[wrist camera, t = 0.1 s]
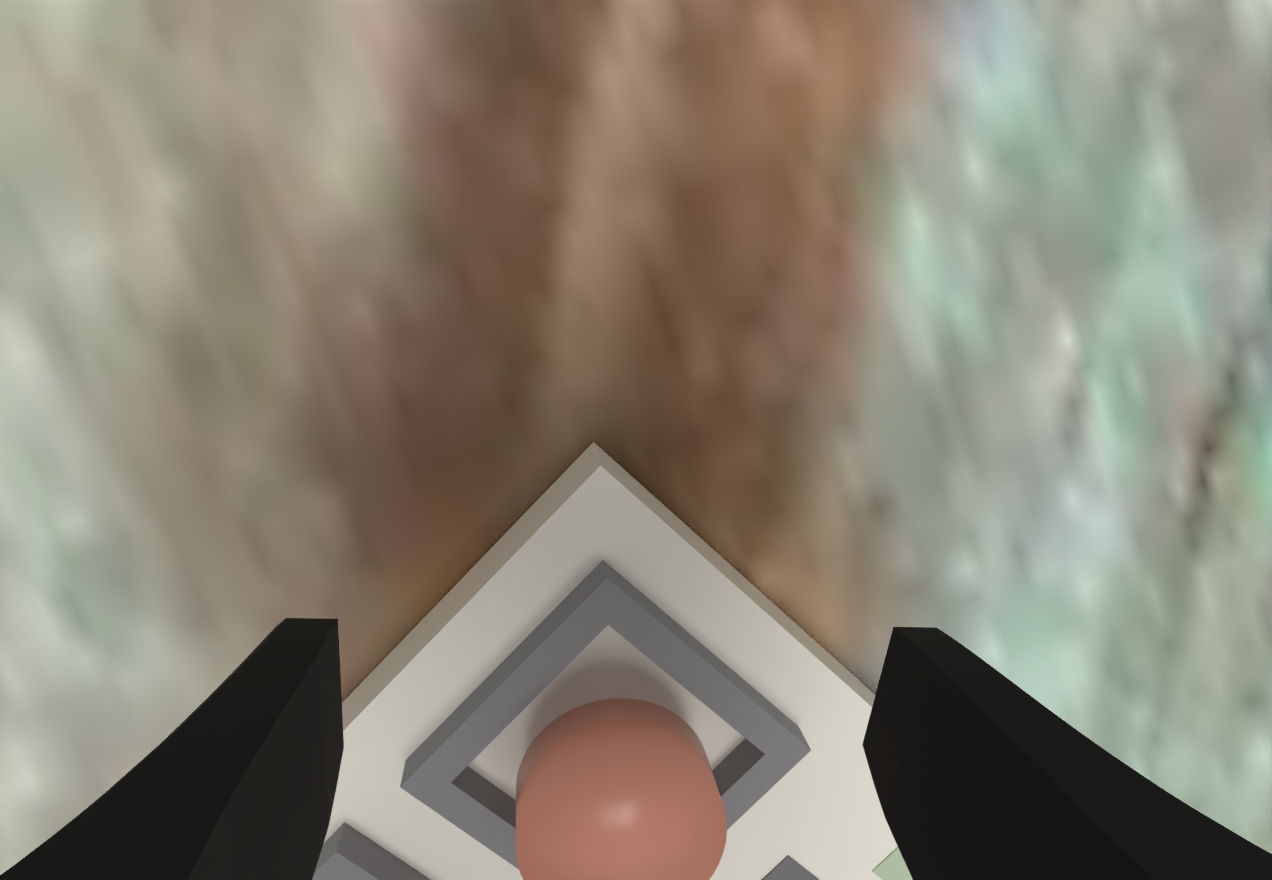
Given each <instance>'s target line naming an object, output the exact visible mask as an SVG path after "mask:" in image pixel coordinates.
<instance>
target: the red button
mask: <svg viewBox="0 0 1272 880" xmlns="http://www.w3.org/2000/svg"><path fill="white" fill-rule="evenodd" d="M726 837H727V819H726V814H725V809H724V805H723V802H722V799H721V796H720V793H719V790H718V787H717V785H716V782H715V779H714V776H713V773H712V770H711V767H710V764H709V761H708V758H707V755H706V752H705V750H704V747H703V744H702V743H701V741H700V739H699V737H698V736H697V734H696V733H695V732H694V730H693V729H692V728H691V727H690V726H689V725H688V724H687V723H686V722H685V721H684V720H683V719H682V718H680V717H679V716H678V715H676V714H675V713H673V712H672V711H670V710H668V709H666V708H664V707H662V706H659V705H657V704H654V703H651V702H647V701H643V700H638V699H628V698H612V699H605V700H598V701H594V702H591V703H587V704H584V705H581V706H579V707H576V708H574V709H572V710H570V711H568V712H566V713H564V714H562V715H561V716H559V717H558V718H556V719H555V720H554V721H552V722H551V723H550V724H549V725H547V726H546V727H545V728H544V729H543V730H542V731H541V732H540V733H539V734H538V735H537V737H536V738H535V739H534V740H533V742H532V743H531V745H530V746H529V747H528V749H527V751H526V753H525V755H524V757H523V759H522V761H521V764H520V767H519V770H518V775H517V781H516V850H515V851H516V858H517V864H518V867H519V871H520V874H521V876H522V878H523V880H709V879H710V878H711V877H712V875H713V874H714V872H715V870H716V868H717V867H718V865H719V862H720V860H721V857H722V855H723V852H724V848H725V844H726Z"/></svg>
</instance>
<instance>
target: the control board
mask: <svg viewBox="0 0 1272 880" xmlns="http://www.w3.org/2000/svg"><path fill="white" fill-rule="evenodd" d="M612 698H628V699H638V700H643V701H647V702H651V703H654V704H657V705H659V706H662V707H664V708H666V709H668V710H670V711H672V712H673V713H675V714H676V715H678V716H679V717H680V718H682V719H683V720H684V721H685V722H686V723H687V724H688V725H689V726H690V727H691V728H692V729H693V730H694V732H695V733H696V734H697V736H698V737H699V739H700V741H701V743H702V744H703V747H704V750H705V752H706V755H707V758H708V761H709V764H710V767H711V770H712V773H713V776H714V779H715V782H716V785H717V787H718V790H719V793H720V796H721V799H722V802H723V805H724V809H725V814H726V819H727V837H726V844H725V848H724V852H723V855H722V857H721V860H720V862H719V865H718V867H717V868H716V870H715V872H714V874H713V875H712V877H711V878H710V879H709V880H913V879H912V877H911V875H910V872H909V870H908V868H907V866H906V864H905V861H904V859H903V857H902V855H901V852H900V850H899V848H898V846H897V844H896V841H895V839H894V837H893V835H892V832H891V830H890V828H889V826H888V823H887V821H886V819H885V816H884V813H883V810H882V807H881V804H880V801H879V798H878V795H877V792H876V789H875V786H874V783H873V779H872V776H871V772H870V769H869V766H868V762H867V759H866V755H865V752H864V748H863V745H862V744H863V740H864V736H865V733H866V729H867V725H868V721H869V718H870V714H871V710H872V706H873V703H874V699H875V694H874V693H873V692H872V691H870V690H869V689H868V688H867V687H866V686H865V685H864V684H863V683H862V682H860V681H859V680H858V679H857V678H856V677H855V676H854V675H853V674H852V673H850V672H849V671H848V670H847V669H846V668H845V667H844V666H843V665H842V664H840V663H839V662H838V661H837V660H836V659H835V658H834V657H833V656H831V655H830V654H829V653H828V652H827V651H826V650H825V649H824V648H823V647H821V646H820V645H819V644H818V643H817V642H816V641H815V640H814V639H813V638H811V637H810V636H809V635H808V634H807V633H806V632H805V631H804V630H803V629H801V628H800V627H799V626H798V625H797V624H796V623H795V622H794V621H793V620H791V619H790V618H789V617H788V616H787V615H786V614H785V613H784V612H782V611H781V610H780V609H779V608H778V607H777V606H776V605H775V604H774V603H772V602H771V601H770V600H769V599H768V598H767V597H766V596H765V595H764V594H762V593H761V592H760V591H759V590H758V589H757V588H756V587H755V586H754V585H752V584H751V583H750V582H749V581H748V580H747V579H746V578H745V577H744V576H742V575H741V574H740V573H739V572H738V571H737V570H736V569H735V568H734V567H732V566H731V565H730V564H729V563H728V562H727V561H726V560H725V559H723V558H722V557H721V556H720V555H719V554H718V553H717V552H716V551H715V550H713V549H712V548H711V547H710V546H709V545H708V544H707V543H706V542H705V541H703V540H702V539H701V538H700V537H699V536H698V535H697V534H696V533H695V532H693V531H692V530H691V529H690V528H689V527H688V526H687V525H686V524H685V523H683V522H682V521H681V520H680V519H679V518H678V517H677V516H676V515H675V514H673V513H672V512H671V511H670V510H669V509H668V508H667V507H666V506H664V505H663V504H662V503H661V502H660V501H659V500H658V499H657V498H656V497H654V496H653V495H652V494H651V493H650V492H649V491H648V490H647V489H646V488H644V487H643V486H642V485H641V484H640V483H639V482H638V481H637V480H636V479H634V478H633V477H632V476H631V475H630V474H629V473H628V472H627V471H626V470H624V469H623V468H622V467H621V466H620V465H619V464H618V463H617V462H615V461H614V460H613V459H612V458H611V457H610V456H609V455H608V454H607V453H605V452H604V451H603V450H602V449H601V448H600V447H599V446H598V445H597V444H595V443H594V442H593V443H592V444H591V445H590V446H589V447H588V448H587V449H586V450H585V451H584V452H583V453H582V454H581V455H580V456H579V457H578V458H577V459H576V460H575V461H574V462H573V464H572V465H571V466H570V467H569V468H568V469H567V470H566V471H565V472H564V473H563V474H562V475H561V476H560V477H559V478H558V479H557V480H556V481H555V482H554V483H553V484H552V485H551V486H550V487H549V488H548V489H547V491H546V492H545V493H544V494H543V495H542V496H541V497H540V498H539V499H538V500H537V501H536V502H535V503H534V504H533V505H532V506H531V507H530V508H529V509H528V510H527V511H526V512H525V513H524V514H523V515H522V516H521V517H520V519H519V520H518V521H517V522H516V523H515V524H514V525H513V526H512V527H511V528H510V529H509V530H508V531H507V532H506V533H505V534H504V535H503V536H502V537H501V538H500V539H499V540H498V541H497V542H496V543H495V544H494V545H493V547H492V548H491V549H490V550H489V551H488V552H487V553H486V554H485V555H484V556H483V557H482V558H481V559H480V560H479V561H478V562H477V563H476V564H475V565H474V566H473V567H472V568H471V569H470V570H469V571H468V572H467V574H466V575H465V576H464V577H463V578H462V579H461V580H460V581H459V582H458V583H457V584H456V585H455V586H454V587H453V588H452V589H451V590H450V591H449V592H448V593H447V594H446V595H445V596H444V597H443V598H442V599H441V600H440V602H439V603H438V604H437V605H436V606H435V607H434V608H433V609H432V610H431V611H430V612H429V613H428V614H427V615H426V616H425V617H424V618H423V619H422V620H421V621H420V622H419V623H418V624H417V625H416V626H415V627H414V628H413V630H412V631H411V632H410V633H409V634H408V635H407V636H406V637H405V638H404V639H403V640H402V641H401V642H400V643H399V644H398V645H397V646H396V647H395V648H394V649H393V650H392V651H391V652H390V653H389V654H388V655H387V656H386V658H385V659H384V660H383V661H382V662H381V663H380V664H379V665H378V666H377V667H376V668H375V669H374V670H373V671H372V672H371V673H370V674H369V675H368V676H367V677H366V678H365V679H364V680H363V681H362V682H361V683H360V685H359V686H358V687H357V688H356V689H355V690H354V691H353V692H352V693H351V694H350V695H349V696H348V697H347V698H346V699H345V700H344V701H343V702H342V718H343V739H344V749H343V755H342V760H341V766H340V771H339V776H338V782H337V787H336V792H335V797H334V802H333V807H332V812H331V817H330V822H329V827H328V830H327V834H326V837H325V840H324V843H323V847H322V850H321V853H320V856H319V859H318V863H317V866H316V869H315V872H314V875H313V879H312V880H523V878H522V876H521V874H520V871H519V867H518V864H517V858H516V851H515V850H516V781H517V775H518V770H519V767H520V764H521V761H522V759H523V757H524V755H525V753H526V751H527V749H528V747H529V746H530V745H531V743H532V742H533V740H534V739H535V738H536V737H537V735H538V734H539V733H540V732H541V731H542V730H543V729H544V728H545V727H546V726H547V725H549V724H550V723H551V722H552V721H554V720H555V719H556V718H558V717H559V716H561V715H562V714H564V713H566V712H568V711H570V710H572V709H574V708H576V707H579V706H581V705H584V704H587V703H591V702H594V701H598V700H605V699H612Z"/></svg>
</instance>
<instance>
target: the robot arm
mask: <svg viewBox="0 0 1272 880" xmlns="http://www.w3.org/2000/svg"><path fill="white" fill-rule="evenodd" d="M862 745H863V748H864V752H865V755H866V759H867V762H868V766H869V769H870V772H871V776H872V779H873V783H874V786H875V789H876V792H877V795H878V798H879V801H880V804H881V807H882V810H883V813H884V816H885V819H886V821H887V823H888V826H889V828H890V830H891V832H892V835H893V837H894V839H895V841H896V844H897V846H898V848H899V850H900V852H901V855H902V857H903V859H904V861H905V864H906V866H907V868H908V870H909V872H910V875H911V877H912V879H913V880H1272V854H1271V853H1269V852H1267V851H1265V850H1263V849H1261V848H1260V847H1258V846H1256V845H1254V844H1253V843H1251V842H1249V841H1247V840H1246V839H1244V838H1242V837H1241V836H1239V835H1237V834H1236V833H1234V832H1232V831H1231V830H1229V829H1227V828H1225V827H1224V826H1222V825H1220V824H1219V823H1217V822H1215V821H1214V820H1212V819H1210V818H1209V817H1207V816H1205V815H1203V814H1202V813H1200V812H1198V811H1197V810H1195V809H1193V808H1192V807H1190V806H1188V805H1187V804H1185V803H1184V802H1182V801H1181V800H1179V799H1177V798H1176V797H1174V796H1173V795H1171V794H1169V793H1168V792H1166V791H1165V790H1163V789H1162V788H1160V787H1159V786H1157V785H1156V784H1154V783H1153V782H1151V781H1150V780H1148V779H1147V778H1145V777H1144V776H1142V775H1141V774H1139V773H1138V772H1136V771H1135V770H1133V769H1132V768H1130V767H1129V766H1127V765H1126V764H1124V763H1123V762H1121V761H1120V760H1118V759H1117V758H1115V757H1114V756H1112V755H1111V754H1110V753H1108V752H1107V751H1105V750H1104V749H1102V748H1101V747H1100V746H1098V745H1097V744H1095V743H1094V742H1093V741H1091V740H1090V739H1088V738H1087V737H1085V736H1084V735H1083V734H1081V733H1080V732H1079V731H1077V730H1076V729H1074V728H1073V727H1072V726H1070V725H1069V724H1067V723H1066V722H1065V721H1063V720H1062V719H1061V718H1059V717H1058V716H1057V715H1055V714H1054V713H1053V712H1051V711H1050V710H1048V709H1047V708H1046V707H1044V706H1043V705H1042V704H1040V703H1039V702H1038V701H1036V700H1035V699H1034V698H1032V697H1031V696H1030V695H1028V694H1027V693H1026V692H1024V691H1023V690H1022V689H1020V688H1019V687H1018V686H1016V685H1015V684H1014V683H1012V682H1011V681H1010V680H1009V679H1007V678H1006V677H1005V676H1003V675H1002V674H1001V673H999V672H998V671H997V670H995V669H994V668H993V667H991V666H990V665H989V664H987V663H986V662H985V661H983V660H982V659H981V658H979V657H978V656H976V655H975V654H974V653H972V652H971V651H970V650H968V649H967V648H966V647H964V646H963V645H961V644H960V643H959V642H957V641H956V640H954V639H953V638H951V637H950V636H948V635H947V634H945V633H944V632H942V631H941V630H939V629H938V628H921V627H893V631H892V635H891V639H890V642H889V646H888V650H887V654H886V657H885V661H884V665H883V669H882V673H881V676H880V680H879V684H878V688H877V691H876V695H875V699H874V703H873V706H872V710H871V714H870V718H869V721H868V725H867V729H866V733H865V736H864V740H863V744H862ZM343 749H344V739H343V718H342V698H341V677H340V657H339V636H338V619H306V618H286V619H285V620H283V621H282V622H281V623H280V624H279V625H277V626H276V627H275V628H274V629H273V631H272V632H271V633H270V634H269V635H268V636H267V637H266V638H265V639H264V640H263V641H262V642H261V643H260V644H259V645H258V646H257V648H256V649H255V650H254V651H253V652H252V653H251V654H250V655H249V656H248V657H247V658H246V659H245V660H244V661H243V662H242V663H241V664H240V666H239V667H238V668H237V669H236V670H235V671H234V672H233V673H232V674H231V675H230V676H229V677H228V678H227V679H226V680H225V681H224V682H223V683H222V684H221V685H220V686H219V687H218V688H217V689H216V690H215V691H214V692H213V693H212V694H211V695H210V696H209V697H208V698H207V699H206V700H205V701H204V702H203V703H202V704H201V705H200V706H199V707H198V708H197V709H196V710H195V711H194V712H193V713H192V714H191V715H190V716H189V717H188V718H187V719H186V720H185V721H184V722H183V723H182V724H181V725H180V726H179V727H177V728H176V729H175V730H174V731H173V732H172V733H171V734H170V735H169V736H168V737H167V738H166V739H165V740H164V741H163V742H162V743H161V744H160V745H159V746H157V747H156V748H155V749H154V750H153V751H152V752H151V753H150V754H148V755H147V756H146V757H145V758H144V759H143V760H142V761H141V762H139V763H138V764H137V765H136V766H135V767H134V768H133V769H132V770H130V771H129V772H128V773H127V774H126V775H125V776H124V777H123V778H121V779H120V780H119V781H118V782H117V783H116V784H115V785H114V786H112V787H111V788H110V789H109V790H108V791H107V792H106V793H105V794H103V795H102V796H101V797H100V798H99V799H97V800H96V801H95V802H94V803H93V804H91V805H90V806H89V807H88V808H87V809H85V810H84V811H83V812H82V813H80V814H79V815H78V816H77V817H76V818H74V819H73V820H72V821H71V822H69V823H68V824H67V825H66V826H64V827H63V828H62V829H61V830H59V831H58V832H57V833H56V834H54V835H53V836H52V837H51V838H49V839H48V840H47V841H45V842H44V843H43V844H41V845H40V846H39V847H38V848H36V849H35V850H34V851H32V852H31V853H30V854H28V855H27V856H26V857H24V858H23V859H22V860H21V861H19V862H18V863H17V864H15V865H14V866H13V867H11V868H10V869H9V870H7V871H6V872H4V873H3V874H2V875H0V880H312V879H313V875H314V872H315V869H316V866H317V863H318V859H319V856H320V853H321V850H322V847H323V843H324V840H325V837H326V834H327V830H328V827H329V822H330V817H331V812H332V807H333V802H334V797H335V792H336V787H337V782H338V776H339V771H340V766H341V760H342V755H343Z"/></svg>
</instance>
